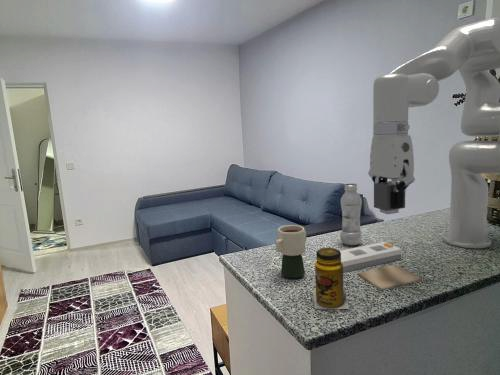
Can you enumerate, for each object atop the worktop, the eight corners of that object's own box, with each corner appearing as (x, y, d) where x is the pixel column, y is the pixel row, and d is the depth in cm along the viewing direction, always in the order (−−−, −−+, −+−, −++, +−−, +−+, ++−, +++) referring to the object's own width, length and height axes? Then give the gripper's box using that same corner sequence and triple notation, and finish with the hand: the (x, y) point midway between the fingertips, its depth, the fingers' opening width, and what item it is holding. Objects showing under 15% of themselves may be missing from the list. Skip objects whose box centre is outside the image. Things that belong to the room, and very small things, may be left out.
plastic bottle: (338, 241, 111) (337, 183, 107) (357, 240, 111) (357, 182, 108) (344, 248, 105) (343, 186, 101) (365, 247, 105) (365, 185, 101)
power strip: (384, 251, 100) (384, 239, 100) (401, 259, 94) (401, 247, 93) (326, 263, 94) (326, 251, 94) (341, 272, 88) (340, 260, 87)
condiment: (314, 309, 71) (313, 257, 69) (312, 290, 80) (311, 243, 77) (349, 310, 70) (349, 257, 68) (343, 290, 79) (343, 242, 76)
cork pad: (394, 266, 90) (394, 264, 89) (421, 279, 81) (421, 278, 81) (357, 275, 86) (357, 273, 86) (381, 290, 77) (381, 288, 77)
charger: (391, 208, 83) (392, 180, 82) (404, 212, 79) (405, 183, 78) (373, 211, 82) (373, 183, 80) (386, 215, 78) (386, 185, 76)
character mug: (297, 265, 94) (295, 221, 92) (316, 272, 89) (315, 226, 87) (269, 277, 88) (266, 230, 86) (287, 286, 82) (285, 236, 80)
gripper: (432, 128, 70) (430, 211, 73) (378, 129, 86) (378, 197, 89) (404, 130, 68) (403, 215, 71) (354, 131, 84) (354, 201, 87)
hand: (389, 204), depth 80 cm, fingers closed on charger, 4 cm apart
